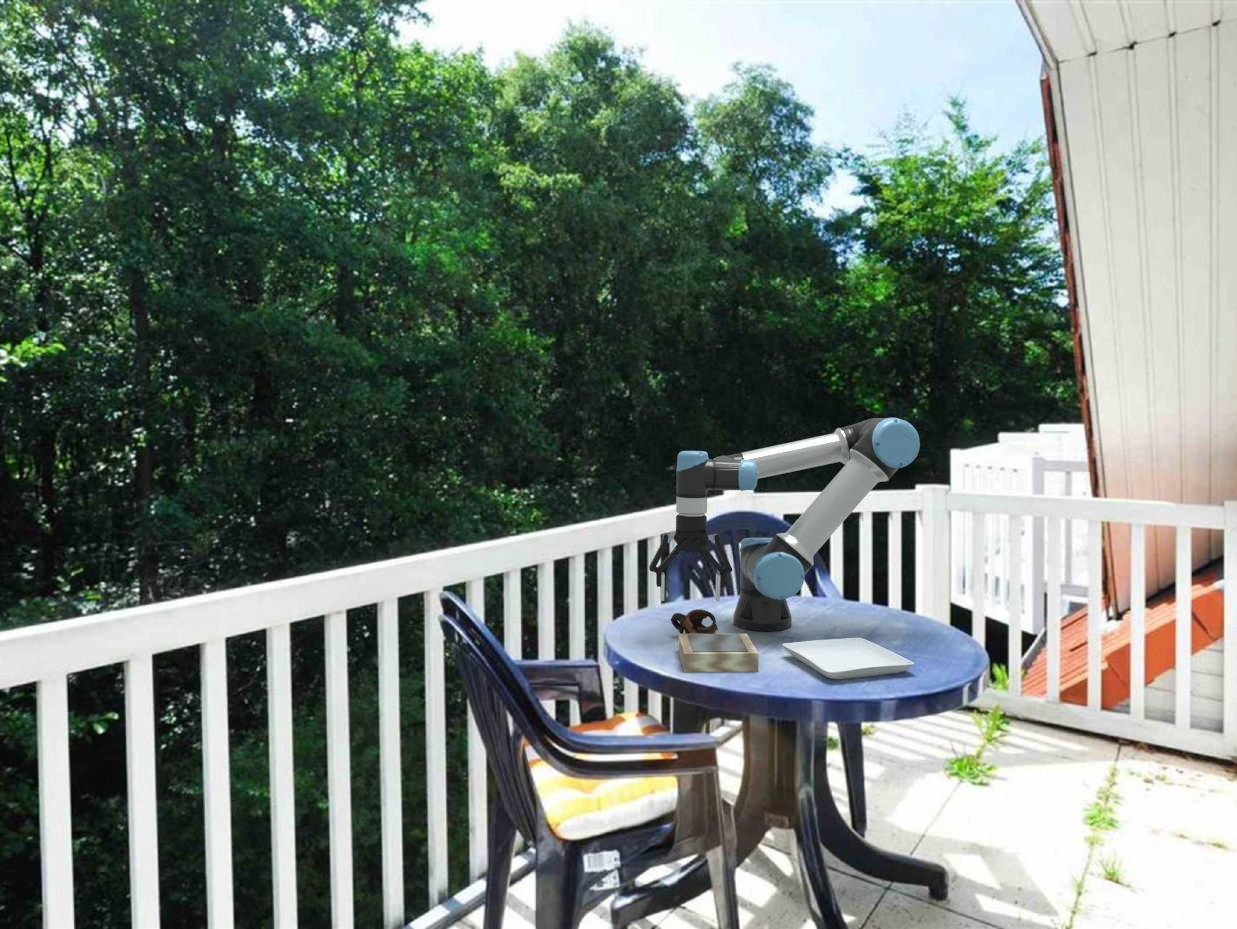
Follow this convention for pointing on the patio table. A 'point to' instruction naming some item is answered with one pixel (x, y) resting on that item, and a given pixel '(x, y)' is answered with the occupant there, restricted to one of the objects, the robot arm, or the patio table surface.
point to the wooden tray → (717, 653)
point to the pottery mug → (694, 622)
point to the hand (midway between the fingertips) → (690, 600)
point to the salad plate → (847, 658)
